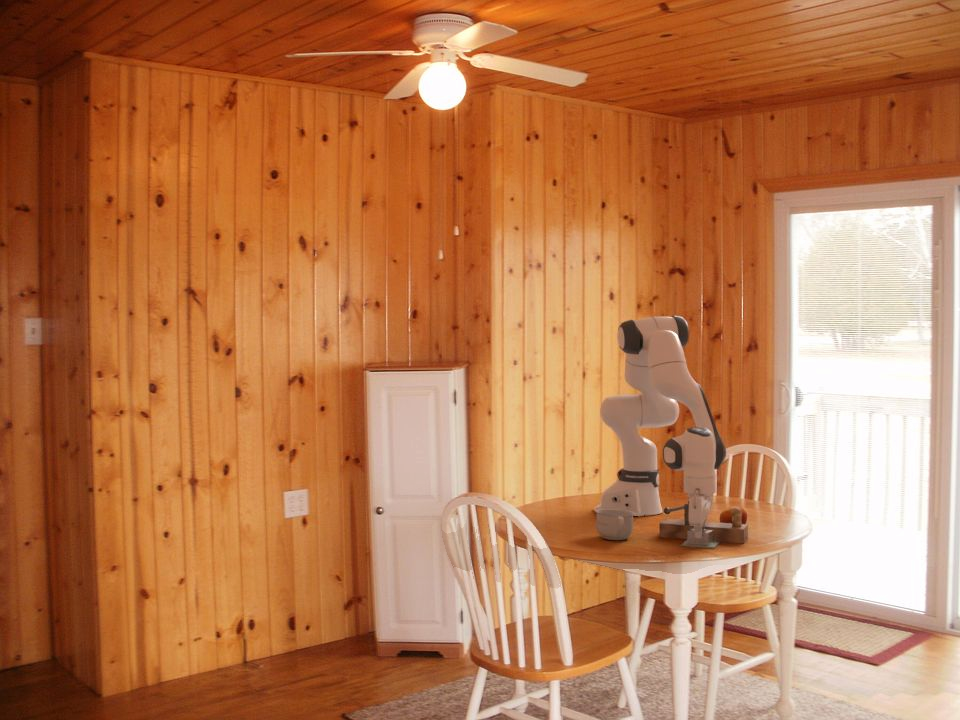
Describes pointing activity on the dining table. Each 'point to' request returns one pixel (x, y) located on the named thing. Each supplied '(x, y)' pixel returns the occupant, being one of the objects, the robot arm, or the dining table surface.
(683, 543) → the mat
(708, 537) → the box with chrome knob
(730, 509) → the fruit
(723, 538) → the brown lever base
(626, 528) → the teacup
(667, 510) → the lever
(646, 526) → the dining table surface
